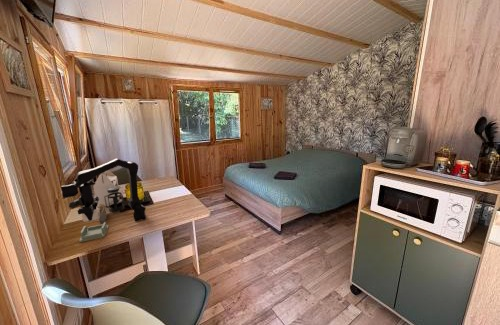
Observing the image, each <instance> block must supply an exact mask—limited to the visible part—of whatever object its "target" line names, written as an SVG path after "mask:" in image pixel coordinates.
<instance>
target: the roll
mask: <svg viewBox="0 0 500 325" xmlns="http://www.w3.org/2000/svg"><path fill="white" fill-rule="evenodd" d="M99 209H100V208H96V209H95V210H94V212H93V217H92V220H91V221H89V220H88V218H87V217H86V215H85V214H81V218H82V221H83V222H84V223H86V222H92V221H95V220H99V219H100V212H99Z"/></svg>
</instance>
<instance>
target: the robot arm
mask: <svg viewBox="0 0 500 325" xmlns="http://www.w3.org/2000/svg"><path fill="white" fill-rule="evenodd" d="M117 167H121V168H124V169H126V172H127V174H128V181H129V182H128V184H129V193H130V194H129V196H130V197H129V198H127V205H128V206H129V207H130V209H131V210H133V213H132V215H133V220H134V222H139V221H144V220H146V219H147V215H146V207H145V206H144V205H143V204H142V202H141V200H140V197H139V191H138V178H137V175H138V173H139V164H138V163H137V162H134V161H131V160H129V161H127V160H122V159H119V158H114V159H112V160H110V161H108V162H106V163H103V164H101V165H98V166H96V167H94V168H93V167H92V168H90V169H85V170H81V171H78V172H77V173H76V175H75V179H74V181H73V182H72V184H67V185H61V186H60V190H61V195H62V196H61V197H62V198H63V199H64V200H65V199H68V198H72V197H76V196H77V195H78V194H79V195H80V196H79V197H78V198H76V199H74V200H72V201H70V202H68V208H70V209H72V210H73V209H75V208H77V207H79V206H80V207H79V208H78V210H77V215H82V214H85V215H86V217H87V218H88V220H89V221H88V222H92V221H93V220H92V217H93V212H94V210H95V209H98V207H97V205H98V201H99V197H97V196H95V192H93V191H94V190H93V186H94V184H95V183H96V182H94V181H93V179H94V178H96V177H97V176H99V175H101V173H103V172H105V171H108V170H110V171H111V170H112V169H114V168H117ZM92 185H93V186H92ZM96 201H97V202H96ZM91 220H92V221H91Z"/></svg>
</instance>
